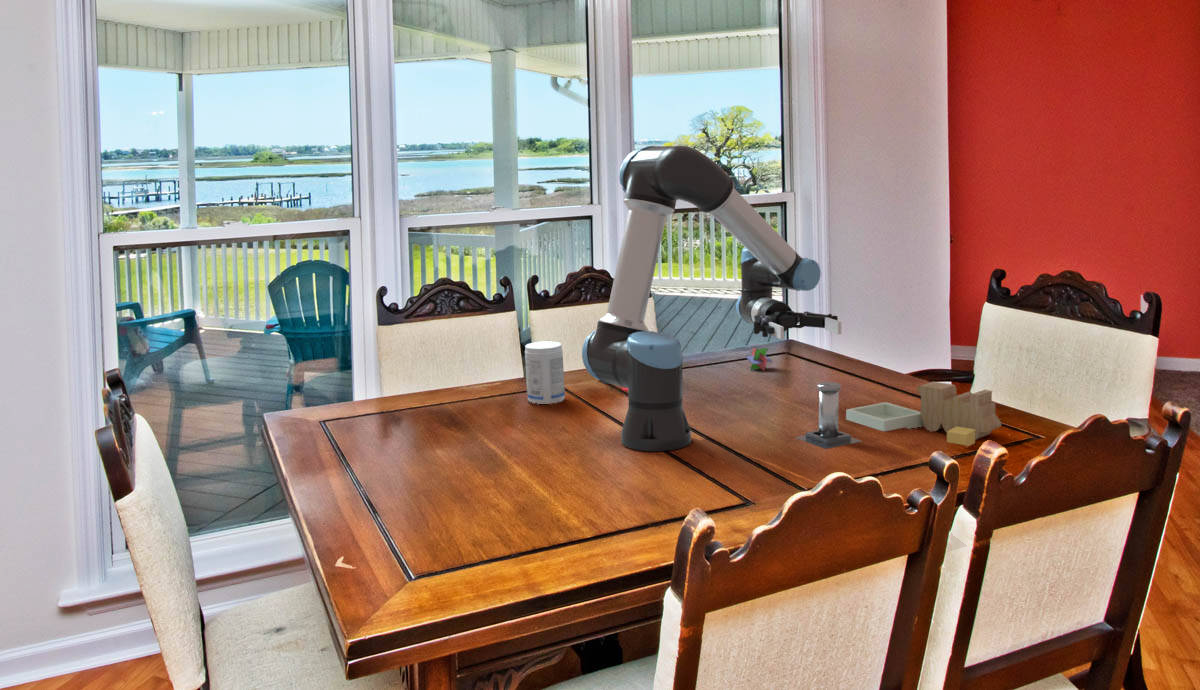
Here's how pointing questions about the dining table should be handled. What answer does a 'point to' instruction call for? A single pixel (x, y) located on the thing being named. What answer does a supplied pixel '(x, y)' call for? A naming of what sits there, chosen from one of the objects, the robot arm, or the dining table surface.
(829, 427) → the pin
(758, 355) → the geometric puzzle
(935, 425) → the toy train
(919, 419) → the tray
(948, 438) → the tan rectangular block
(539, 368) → the supplement tub
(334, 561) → the dining table surface
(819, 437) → the collar plate
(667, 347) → the robot arm
